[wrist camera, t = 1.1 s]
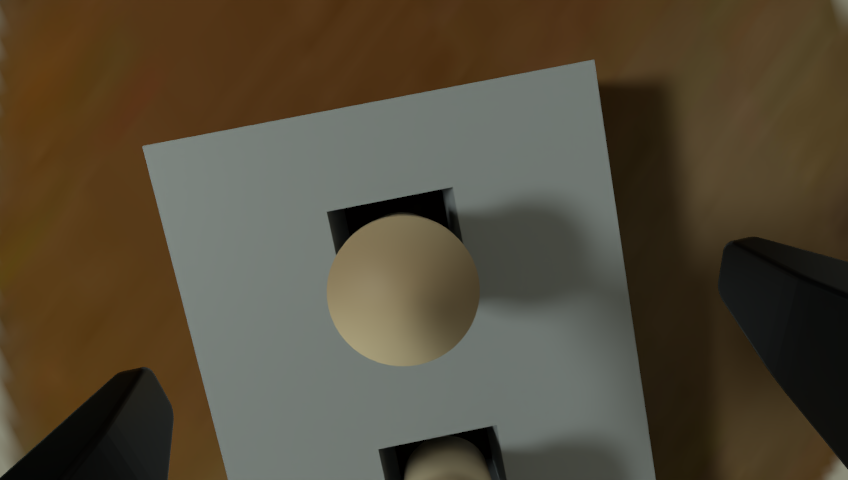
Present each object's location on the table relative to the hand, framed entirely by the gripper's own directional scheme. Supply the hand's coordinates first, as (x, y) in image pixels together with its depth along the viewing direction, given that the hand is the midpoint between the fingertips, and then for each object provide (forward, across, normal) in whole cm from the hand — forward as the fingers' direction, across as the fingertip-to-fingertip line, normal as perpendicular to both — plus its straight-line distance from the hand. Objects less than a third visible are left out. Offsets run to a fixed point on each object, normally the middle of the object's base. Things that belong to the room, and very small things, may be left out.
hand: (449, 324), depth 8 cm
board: (+11, 0, +10) cm, 15 cm away
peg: (+9, 0, +4) cm, 10 cm away
